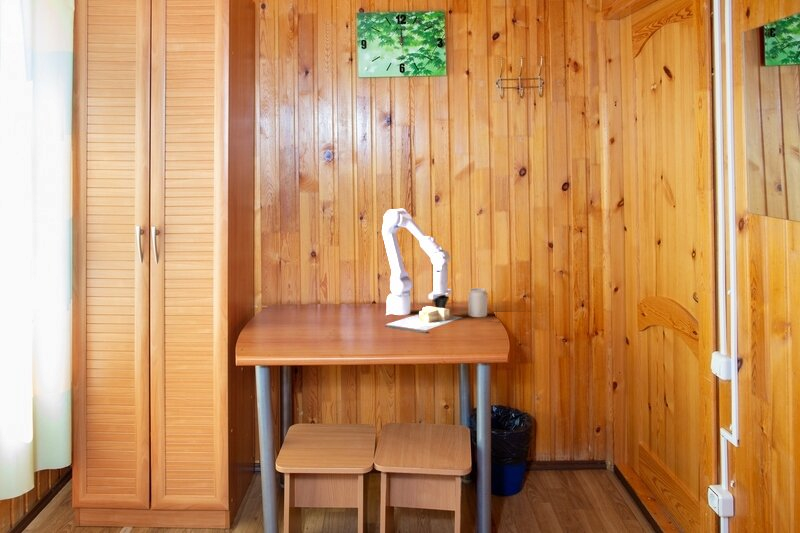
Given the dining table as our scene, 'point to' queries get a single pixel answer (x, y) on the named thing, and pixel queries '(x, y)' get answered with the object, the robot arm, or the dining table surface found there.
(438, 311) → the block
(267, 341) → the dining table surface
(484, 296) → the can
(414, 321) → the board
